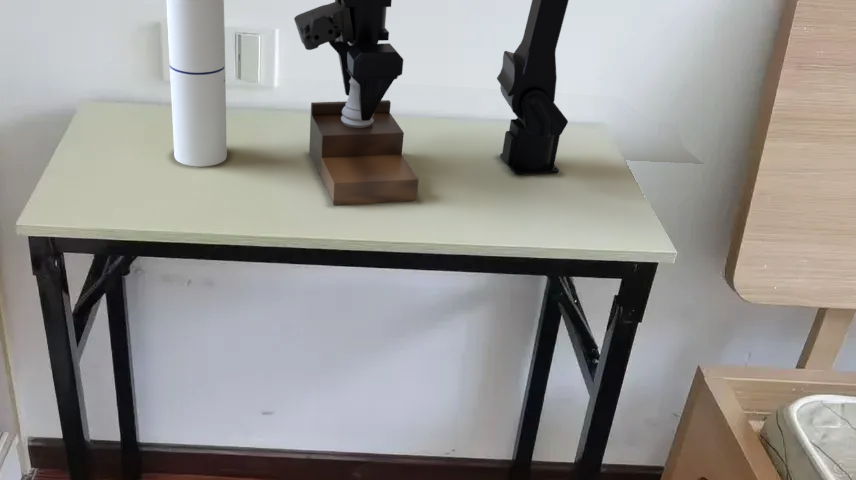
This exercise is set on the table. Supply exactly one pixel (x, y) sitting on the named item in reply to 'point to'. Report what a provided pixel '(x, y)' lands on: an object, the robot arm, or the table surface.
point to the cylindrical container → (197, 80)
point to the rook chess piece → (354, 109)
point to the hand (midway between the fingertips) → (357, 107)
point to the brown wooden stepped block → (360, 156)
